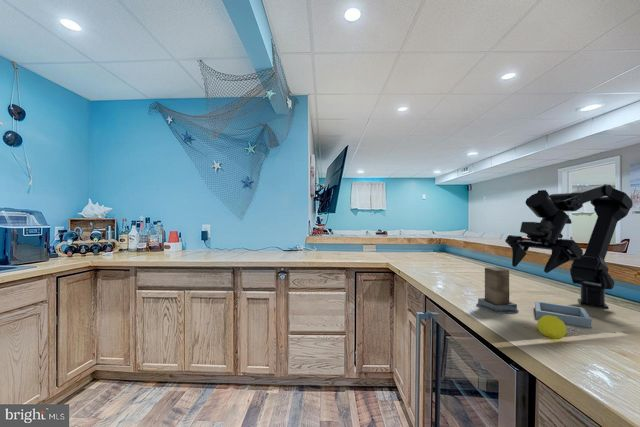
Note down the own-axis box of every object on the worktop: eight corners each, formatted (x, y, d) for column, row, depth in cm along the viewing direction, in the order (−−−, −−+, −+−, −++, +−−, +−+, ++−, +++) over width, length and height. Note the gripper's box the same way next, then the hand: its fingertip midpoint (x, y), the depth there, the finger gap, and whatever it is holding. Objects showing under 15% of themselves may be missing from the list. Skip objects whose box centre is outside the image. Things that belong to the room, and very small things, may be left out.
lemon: (565, 348, 62) (564, 325, 62) (535, 340, 66) (534, 319, 66) (567, 334, 67) (567, 313, 67) (539, 328, 71) (539, 308, 71)
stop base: (498, 304, 91) (498, 295, 91) (528, 316, 80) (528, 306, 80) (468, 306, 89) (468, 297, 89) (495, 318, 79) (495, 308, 79)
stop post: (497, 305, 87) (497, 267, 88) (509, 309, 83) (509, 270, 83) (484, 305, 87) (484, 267, 87) (496, 310, 82) (496, 270, 82)
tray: (535, 310, 85) (535, 300, 85) (583, 318, 79) (583, 307, 79) (536, 321, 76) (536, 310, 76) (591, 331, 70) (591, 319, 70)
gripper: (506, 211, 92) (484, 249, 89) (572, 210, 74) (547, 258, 71) (525, 231, 95) (505, 269, 92) (593, 235, 77) (570, 282, 74)
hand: (528, 269), depth 82 cm, fingers open, 9 cm apart
